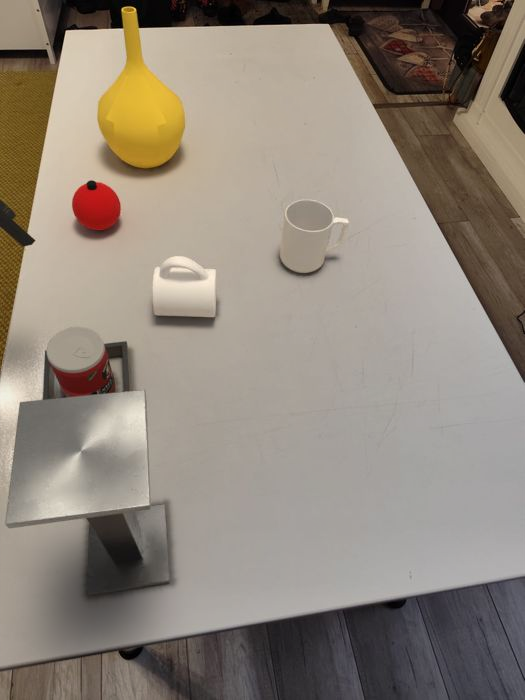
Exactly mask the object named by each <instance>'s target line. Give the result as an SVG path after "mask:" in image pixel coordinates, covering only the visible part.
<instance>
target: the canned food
mask: <svg viewBox="0 0 525 700" xmlns="http://www.w3.org/2000/svg"><path fill="white" fill-rule="evenodd" d="M104 344H105V343H104V340H103V339H102V337H101V335H100V333H98V332H96V331H95V330H94V329H91V328H88V327H84V326H72V327H68V328H64V329H62V330H60V331H58V332H57V333H55V334H54V335H53V336H52V337H51V338H50V340H49V341H48V342H47V345H46V350H47V357H48V360H49V362H50V365H51V367H52V369H53V371H54V377H56V380H57V382H58V384H59V387H60V389H61V391H62V393H63V395H64V398H66V397H76V396H86V395H96V394H106V393H115V389H116V381H115V376H114V372H113V370H112V366H111V362H110V358H108V355H107V351H106V348H105V345H104Z"/></svg>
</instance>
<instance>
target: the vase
mask: <svg viewBox="0 0 525 700" xmlns="http://www.w3.org/2000/svg"><path fill="white" fill-rule="evenodd" d="M121 18H122V28H123V36H124V46H125V53H126V60H125V61H126V62H125V64H124V68H123V70H122V71H121V72H120V74H119V75H118V76H117V78H116V79H114V82H113V83H112V84H111V85H110V87H108V88H107V90H106V91H105V92H104V93H103V94H102V95H101V96H100V98H99V100H98V102H97V114H96V115H97V116H96V117H97V118H96V119H97V123H98V128H99V130H100V133H101V135H102V137H103V138H104V141H105V142H106V144H107V146H108V147H109V149H110V150H111V151H112V152H113V153H114V154H115V155H116V156H117V157H118V158H119V159H120V160H121V161H122V162H125V163H126V164H129V165H130V166H132V167H135V168H138V169H153V168H157V167H160V166H163V164H165V163H166V162H168V161H169V160H171V158H173V156H174V155H175V153H176V152H177V150H179V148H180V145H181V142H182V140H183V135H184V133H185V129H186V115H185V109H184V105H183V102H182V100H181V98H180V96H179V95H177V94H176V92H174V91H173V90H172V89H170V88H169V87H168V86H167V85H166V84H165V83H164V82H162V80H161V79H159V78H158V77H157V76H156V75H155V74H154V73H153V72H152V71H151V70H150V69H149V67H148V66H147V64H146V63H145V60H144V58H143V51H142V42H141V34H140V27H139V21H138V13H137V9H136V8H135V7H134V6H124V7H122V8H121Z"/></svg>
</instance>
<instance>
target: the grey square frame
mask: <svg viewBox="0 0 525 700" xmlns="http://www.w3.org/2000/svg"><path fill="white" fill-rule="evenodd" d="M104 345H105V348H106V351H107V355H108V358H109V359H110V358H111V359H112V358H118V357H122V373H123V374H122V375H123V390H124V391H123V392H126V391H133V390H132V389H133V388H132V375H131V373H132V372H131V359H130V357H131V356H130V349H129V346H128V342H127V340H124V341H116V342H108V343H104ZM43 365H44V366H43V367H44V369H43V387H42V390H43V391H42V400H46V399H55V398H54V397H55V396H54V394H55V373H54V371H53V369H52V367H51V365H50V362H49V360H48V357H47V349H45V350H44V364H43Z"/></svg>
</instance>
